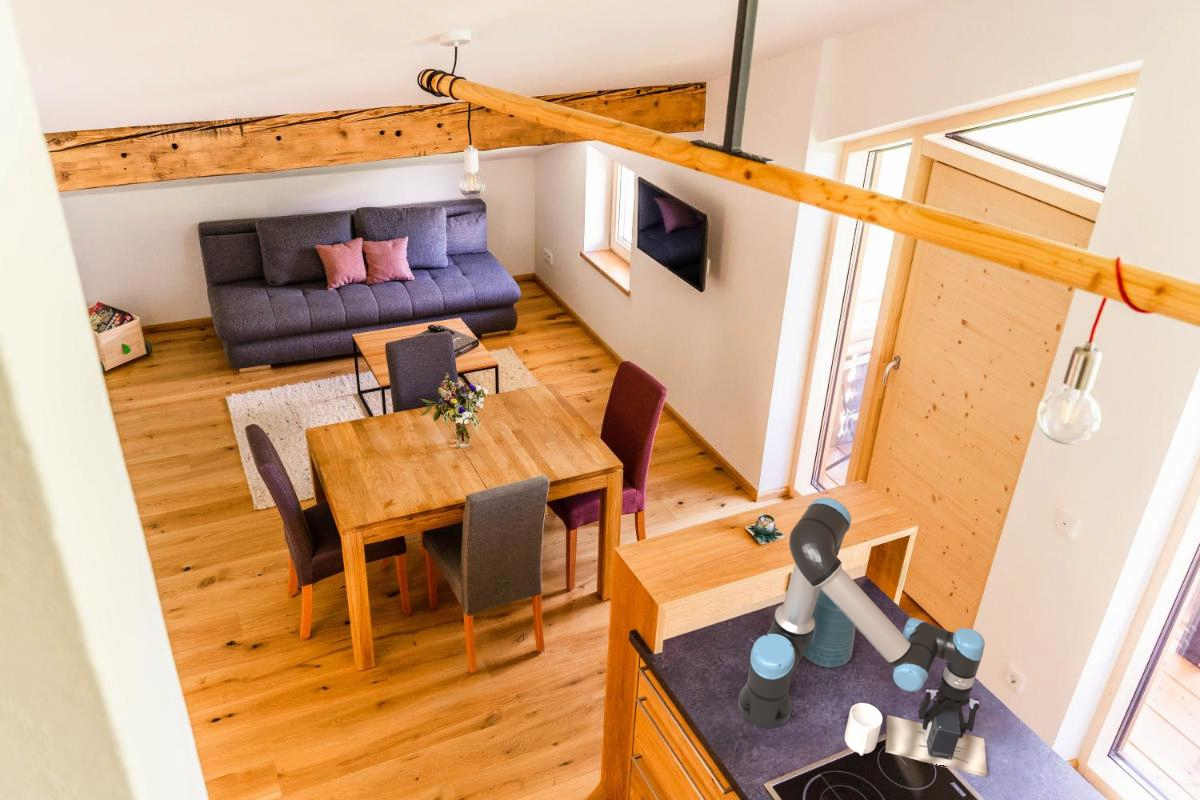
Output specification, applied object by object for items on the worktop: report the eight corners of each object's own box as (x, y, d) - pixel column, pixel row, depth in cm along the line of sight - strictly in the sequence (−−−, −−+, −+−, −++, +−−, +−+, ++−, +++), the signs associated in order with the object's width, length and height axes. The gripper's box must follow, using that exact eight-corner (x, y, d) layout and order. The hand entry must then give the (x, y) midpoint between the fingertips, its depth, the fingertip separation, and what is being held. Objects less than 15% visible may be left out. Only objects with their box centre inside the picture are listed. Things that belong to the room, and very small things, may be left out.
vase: (787, 648, 277) (798, 582, 264) (818, 624, 287) (831, 559, 274) (831, 678, 267) (845, 611, 254) (861, 652, 276) (877, 586, 263)
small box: (953, 760, 239) (962, 734, 234) (928, 756, 240) (936, 729, 235) (948, 729, 248) (956, 703, 243) (924, 725, 249) (931, 699, 244)
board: (885, 751, 244) (886, 748, 243) (886, 718, 254) (887, 714, 253) (985, 777, 237) (987, 773, 237) (982, 742, 247) (984, 738, 247)
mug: (843, 761, 241) (849, 733, 236) (844, 726, 251) (850, 699, 246) (875, 768, 239) (883, 741, 234) (875, 733, 249) (882, 706, 244)
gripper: (918, 681, 232) (902, 741, 243) (998, 700, 227) (977, 760, 238) (918, 661, 238) (902, 720, 249) (996, 678, 233) (976, 738, 244)
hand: (939, 740), depth 244 cm, fingers closed on small box, 7 cm apart
